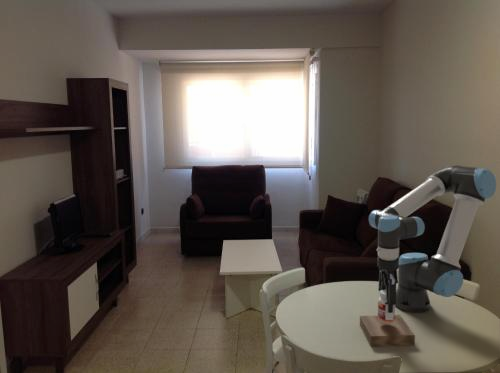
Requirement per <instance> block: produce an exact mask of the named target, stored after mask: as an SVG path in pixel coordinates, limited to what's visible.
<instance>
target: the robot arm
mask: <svg viewBox="0 0 500 373" xmlns="http://www.w3.org/2000/svg"><path fill="white" fill-rule="evenodd" d="M496 179H497V178H496V175H495V174H494V173H493V171H491V170H489V169H488V168H487V169H486V168H483V167H482V168H481V167H472V166H464V165H463V166H462V165H450V166H447V167H444V168H442V169H440V170H437V171H435V172H433V173H432V174H430V175H429V176H428V177H427V178H426V179H425V181H424V182H422V183H421V184H419V185H418V186H417V187H415V188H414V189H412V190H411V191H409V192H407V193H406V194H405V195H403V196H402V197H400V198H399V199H398V200H396V201H394V202H393V203H391V204H390V205H388V206H387V207H386V208H384V209H383V210H381V209H374V210H372V211H371V212H370V214H369V215H368V222H369V223H368V224H369V225H370V227H371V228H374V229H377V248H376V249H375V250H376V252H377V260H376V262H377V264H376V266H377V267H378V271H379V272H378V288H377V289H378V292H380V291H381V290H386V297H387V303H385V304H386V314H385V319H386V320H393V311H394V305H395V308H397V309H398V310H402V311H404V312H409V313H424V312H427V311H428V310H430V309H431V300H430V297H429V293H428V291H429V292H430V293H433V294H435V295H437V296H441V297H444V298H450V297H453V296H454V295H456V294H457V293H458V292H459V291H460V290H461V288H462V286H463V284H464V274H463V273H462V272H461V269H462V267H461V265H460V262H459V261H460V258H461V256H462V253H463V250H464V249H465V248H464V247H465V245H466V242H467V239H468V236H469V233H470V230H471V228H472V224H473V222H474V219H475V216H476V213H477V211H478V209H479V208H478V207H480V206H482V205H483V204H485V200H487V199H490V198H492V197H493V196H494V195H495V192H496V189H497V180H496ZM447 193H453V197H454V199H455V202H454V204H453V207H452V210H451V212H450V215H449V219H448V221H447V224H446V226H445V229H444V232H443V234H442V237H441V240H440V244H439V247H438V249H437V251H436V254H434V255H432V256H431V257H430V260H429V257H428V254H426V253H423V252H422V253H421V252H407V253H403V254H401V255H400V241H402V240H406V239H412V238H417V237H419V236H421V235H423V234H424V232H425V227H426V226H425V222H424V221H423V219H422V218H420V217H419V216H410V215H411V214H413V213H414V212H415V211H417V210H419V209H420V208H421V207H423V206H424V205H426V204H427V203H428V202H430V201H431V200H433V199H434V198H436V197H437V196H438V197H440V196H443V195H444V194H447ZM408 216H410V217H408ZM395 270H398V271H397V272H398V273H397V274H398V277H397V278H396V277H395V273H394V272H395ZM397 282H398V284H397Z"/></svg>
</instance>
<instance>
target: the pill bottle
mask: <svg viewBox="0 0 500 373" xmlns="http://www.w3.org/2000/svg"><path fill="white" fill-rule="evenodd" d="M385 303H387V297H386V290H381V291H379V297H378V300H377V316H378V320H379V321H380V322H383V323H392V322H394V320H395V315H396V306H395V305H394V311H393V320H386V319H385V314H386V304H385Z"/></svg>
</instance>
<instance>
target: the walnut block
mask: <svg viewBox="0 0 500 373" xmlns="http://www.w3.org/2000/svg"><path fill="white" fill-rule="evenodd" d="M359 326H360V329H361V330H363V331H362V332H363V335H364V336H365V338H366V340H367V342H368V344H369V346H370V347H396V346H399V347H401V346H415V345H416V344H415V341H416V334H415V333H414V332H413V330H412V329H411V327H410V326H409V325H408V324H407V322H406V321H405V320H404V317H402V316H401V314H395V320H394V322H392V323H383V322H380V321H379V320H378V315H359Z"/></svg>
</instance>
